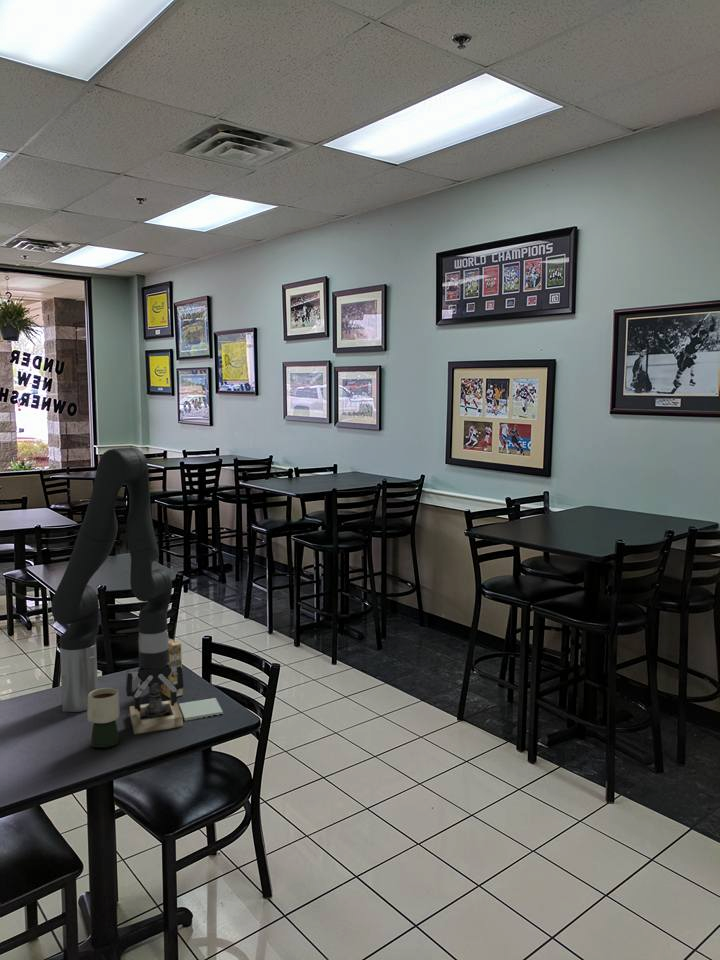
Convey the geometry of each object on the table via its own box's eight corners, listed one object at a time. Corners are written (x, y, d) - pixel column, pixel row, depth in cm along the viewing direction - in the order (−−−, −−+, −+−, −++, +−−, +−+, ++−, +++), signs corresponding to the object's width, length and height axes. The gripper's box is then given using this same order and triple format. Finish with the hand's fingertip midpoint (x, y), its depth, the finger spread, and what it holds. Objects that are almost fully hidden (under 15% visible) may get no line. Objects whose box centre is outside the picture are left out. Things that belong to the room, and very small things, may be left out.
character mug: (108, 732, 178) (106, 683, 177) (131, 737, 176) (130, 686, 175) (77, 752, 168) (75, 699, 167) (102, 757, 166) (100, 703, 164)
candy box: (183, 695, 202) (182, 643, 201) (170, 699, 199) (168, 646, 198) (168, 686, 208) (166, 636, 207) (154, 690, 205) (153, 639, 204)
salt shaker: (160, 726, 182) (159, 681, 181) (139, 724, 183) (138, 679, 182) (171, 717, 188) (170, 673, 186) (151, 715, 189) (149, 671, 188)
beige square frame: (134, 734, 177) (133, 724, 177) (129, 715, 188) (129, 706, 188) (182, 726, 182) (182, 716, 182) (175, 708, 193) (175, 699, 193)
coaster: (184, 720, 185) (184, 717, 185) (179, 706, 194) (179, 703, 194) (222, 714, 189) (222, 711, 189) (215, 700, 198) (215, 697, 198)
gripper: (179, 639, 189) (181, 697, 191) (123, 646, 184) (125, 706, 186) (184, 648, 183) (185, 708, 184) (126, 655, 177) (128, 717, 179)
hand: (155, 707), depth 185 cm, fingers open, 8 cm apart
